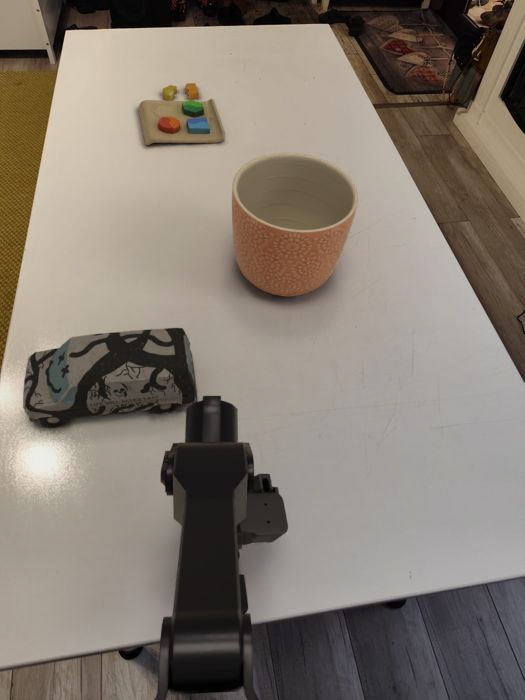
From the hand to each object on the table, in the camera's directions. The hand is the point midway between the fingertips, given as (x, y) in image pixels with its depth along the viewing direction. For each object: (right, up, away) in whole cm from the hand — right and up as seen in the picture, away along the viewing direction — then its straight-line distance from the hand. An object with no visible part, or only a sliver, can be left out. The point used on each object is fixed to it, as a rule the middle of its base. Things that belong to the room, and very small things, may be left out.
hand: (211, 549), depth 67 cm
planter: (+11, +41, +33) cm, 54 cm away
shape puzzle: (-14, +84, +62) cm, 105 cm away
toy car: (-16, +19, +15) cm, 29 cm away
